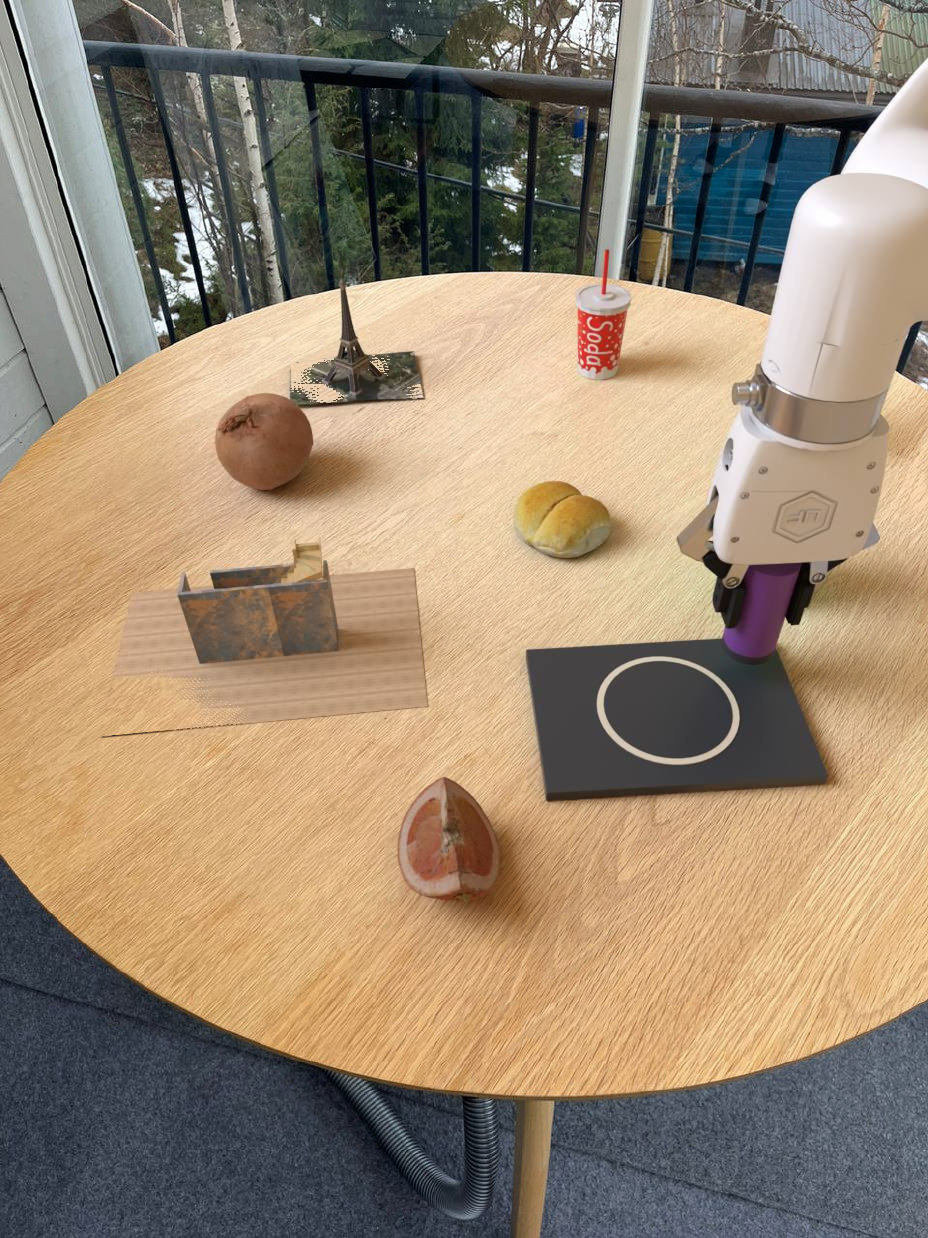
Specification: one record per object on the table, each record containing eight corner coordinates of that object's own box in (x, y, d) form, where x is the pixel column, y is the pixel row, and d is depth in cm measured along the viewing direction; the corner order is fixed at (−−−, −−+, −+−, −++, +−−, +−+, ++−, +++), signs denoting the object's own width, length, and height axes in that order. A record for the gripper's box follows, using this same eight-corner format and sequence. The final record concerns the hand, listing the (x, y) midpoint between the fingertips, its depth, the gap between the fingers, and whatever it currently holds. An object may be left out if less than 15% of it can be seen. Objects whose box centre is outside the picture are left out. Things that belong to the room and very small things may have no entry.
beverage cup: (560, 373, 108) (567, 253, 99) (587, 351, 112) (595, 233, 102) (607, 388, 106) (619, 267, 96) (633, 365, 109) (646, 246, 100)
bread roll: (555, 491, 92) (557, 457, 90) (623, 534, 87) (627, 499, 85) (492, 526, 89) (492, 492, 86) (559, 573, 84) (562, 538, 81)
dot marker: (765, 626, 74) (791, 538, 68) (780, 664, 71) (809, 575, 65) (715, 629, 74) (736, 540, 68) (728, 666, 71) (752, 577, 65)
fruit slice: (510, 921, 60) (511, 880, 56) (405, 935, 59) (400, 895, 56) (490, 811, 66) (490, 768, 62) (395, 823, 65) (389, 781, 62)
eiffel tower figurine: (416, 354, 112) (409, 243, 103) (424, 398, 105) (417, 283, 96) (290, 365, 111) (271, 254, 102) (290, 410, 104) (270, 295, 95)
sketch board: (769, 643, 77) (771, 634, 76) (825, 784, 67) (829, 775, 66) (525, 657, 76) (525, 648, 76) (546, 801, 66) (546, 792, 66)
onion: (259, 523, 95) (210, 472, 86) (232, 455, 99) (182, 400, 90) (341, 477, 94) (300, 422, 85) (311, 411, 98) (268, 352, 89)
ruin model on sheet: (413, 568, 85) (406, 479, 78) (427, 706, 73) (420, 616, 66) (131, 592, 83) (99, 504, 76) (100, 737, 71) (58, 649, 65)
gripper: (695, 437, 54) (655, 656, 67) (979, 424, 55) (886, 644, 68) (668, 372, 60) (636, 586, 72) (927, 360, 60) (849, 575, 73)
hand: (757, 612), depth 70 cm, fingers closed on dot marker, 4 cm apart
